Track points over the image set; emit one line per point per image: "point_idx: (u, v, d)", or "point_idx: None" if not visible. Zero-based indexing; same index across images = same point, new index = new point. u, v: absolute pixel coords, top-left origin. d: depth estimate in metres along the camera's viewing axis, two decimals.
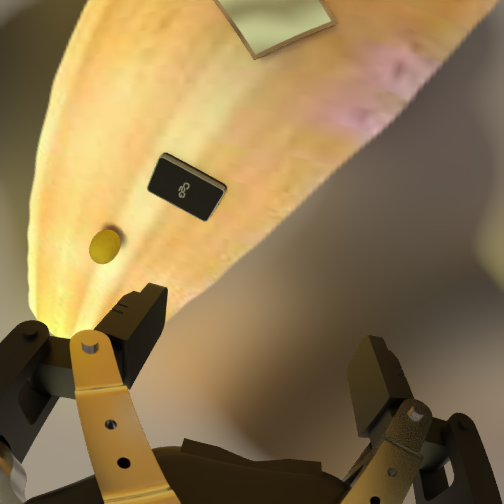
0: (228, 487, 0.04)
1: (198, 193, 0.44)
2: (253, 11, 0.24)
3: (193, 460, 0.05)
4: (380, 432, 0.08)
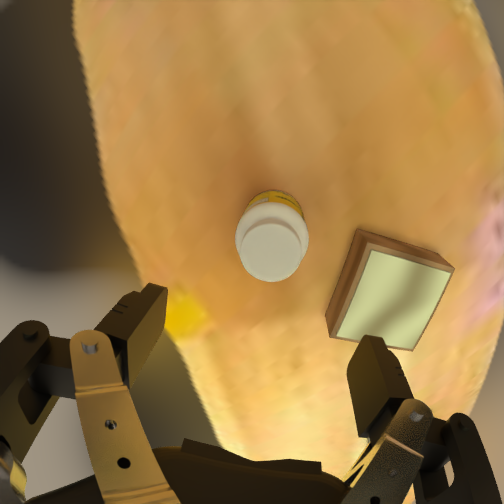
0: (228, 487, 0.04)
1: None
2: (386, 323, 0.26)
3: (193, 460, 0.05)
4: (380, 432, 0.08)
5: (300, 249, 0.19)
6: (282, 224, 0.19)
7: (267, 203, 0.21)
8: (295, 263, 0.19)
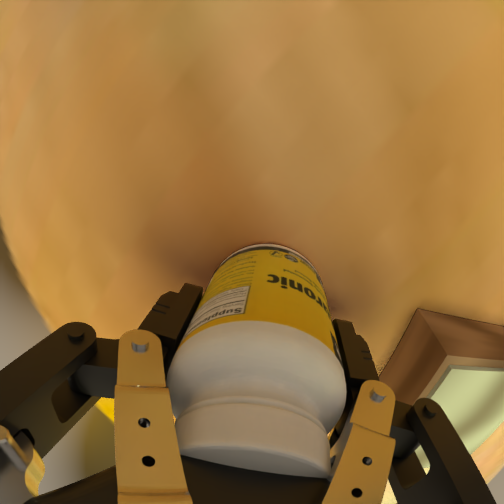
0: (228, 487, 0.04)
1: None
2: None
3: (193, 460, 0.05)
4: (343, 413, 0.08)
5: None
6: (281, 439, 0.05)
7: (241, 328, 0.07)
8: None
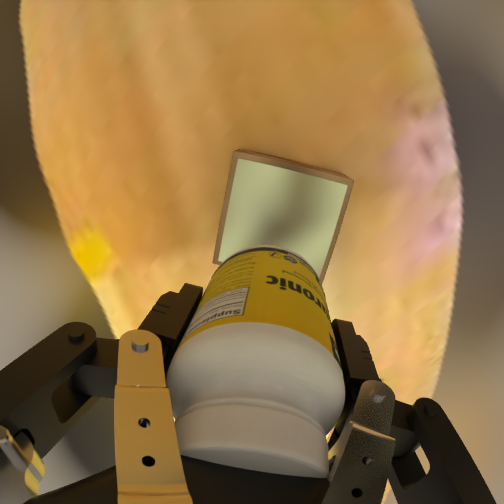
0: (228, 487, 0.04)
1: None
2: None
3: (193, 460, 0.05)
4: (343, 413, 0.08)
5: None
6: (279, 440, 0.05)
7: (239, 329, 0.07)
8: None
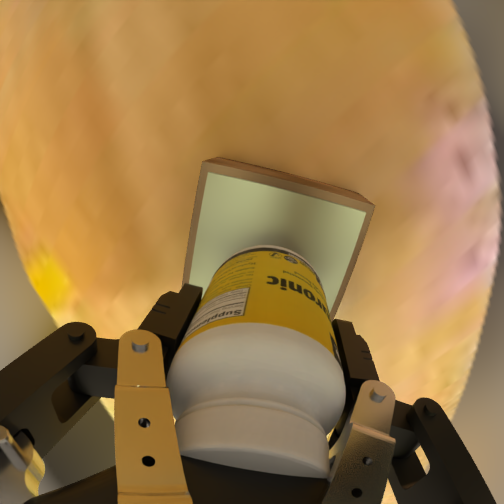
0: (228, 487, 0.04)
1: None
2: None
3: (193, 460, 0.05)
4: (343, 414, 0.08)
5: None
6: (280, 440, 0.05)
7: (240, 330, 0.07)
8: None
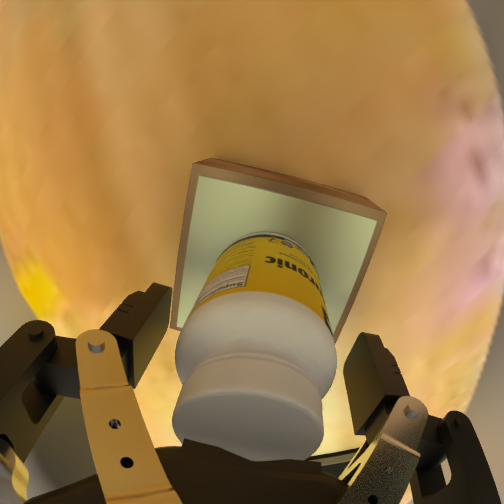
0: (228, 487, 0.04)
1: None
2: None
3: (193, 460, 0.05)
4: (376, 430, 0.08)
5: (320, 433, 0.06)
6: (277, 386, 0.06)
7: (242, 297, 0.09)
8: (306, 453, 0.07)
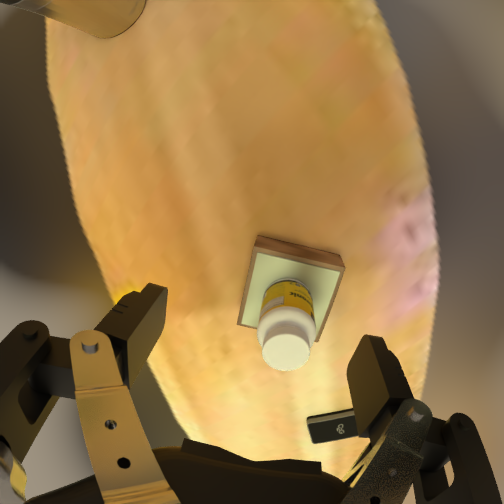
0: (228, 487, 0.04)
1: (353, 424, 0.43)
2: None
3: (193, 460, 0.05)
4: (380, 432, 0.08)
5: (308, 350, 0.23)
6: (295, 333, 0.23)
7: (283, 308, 0.26)
8: (305, 359, 0.24)
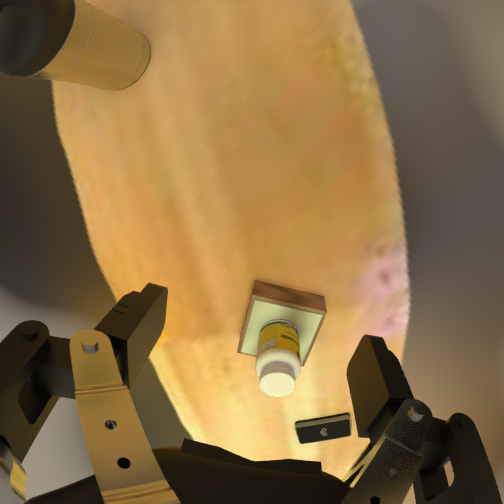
0: (228, 487, 0.04)
1: (334, 428, 0.51)
2: None
3: (193, 460, 0.05)
4: (380, 432, 0.08)
5: (294, 383, 0.30)
6: (284, 371, 0.30)
7: (275, 350, 0.33)
8: (291, 389, 0.31)
